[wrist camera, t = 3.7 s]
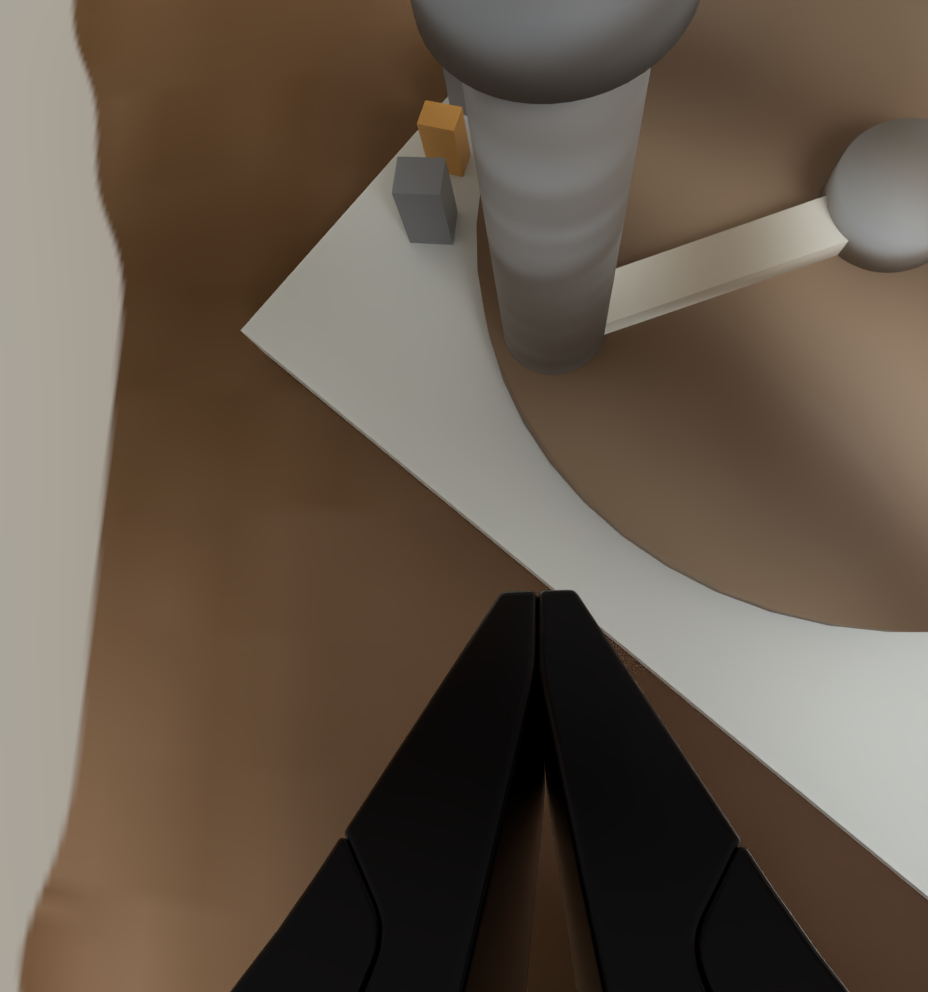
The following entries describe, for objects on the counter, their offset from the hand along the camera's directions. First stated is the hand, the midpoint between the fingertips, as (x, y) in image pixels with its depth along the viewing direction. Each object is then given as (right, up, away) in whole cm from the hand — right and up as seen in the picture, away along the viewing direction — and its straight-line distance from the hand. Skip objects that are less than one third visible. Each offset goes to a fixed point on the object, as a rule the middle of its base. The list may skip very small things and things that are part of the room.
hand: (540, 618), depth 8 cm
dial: (+9, +8, +9) cm, 15 cm away
